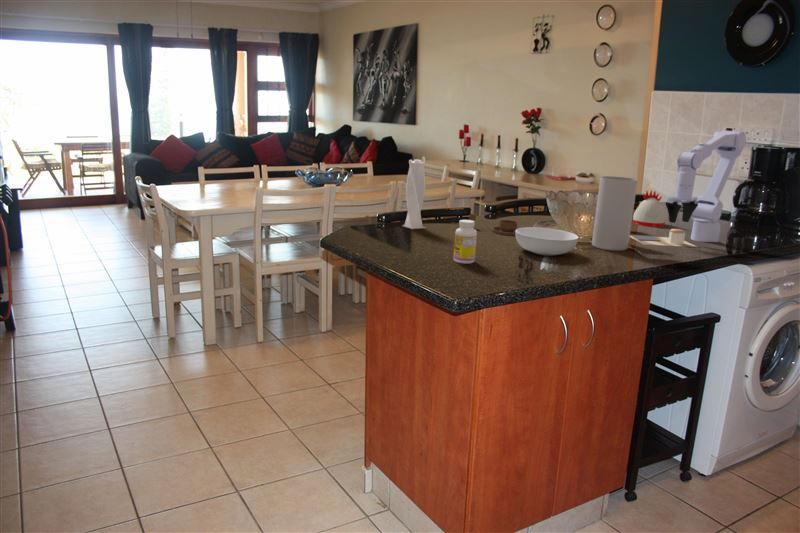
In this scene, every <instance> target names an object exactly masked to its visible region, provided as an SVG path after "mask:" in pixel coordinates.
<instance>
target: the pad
mask: <svg viewBox="0 0 800 533" xmlns="http://www.w3.org/2000/svg"><path fill="white" fill-rule="evenodd" d="M630 236H632V237H634V238H636V239H638V240H640V241H660V240H659V239H657V238H655V237H656V236H654V235H653V236H652V235H638V234H636V235H635V234H630Z"/></svg>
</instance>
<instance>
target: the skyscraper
mask: <svg viewBox="0 0 800 533" xmlns="http://www.w3.org/2000/svg"><path fill="white" fill-rule="evenodd" d="M408 164H409V168H408V171H407V177H406V183H405V200H406V209H407V214H406V219H405V221H404V224H402V225H401V227H404V228H407V229H410V230H421V229H427V227H425V226H423V222H422V215H421V211H422V207H423V204H424V200H425V193H426V173H425V164H426V156H422V158H421V159H413V160H412V159H409V160H408Z"/></svg>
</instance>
